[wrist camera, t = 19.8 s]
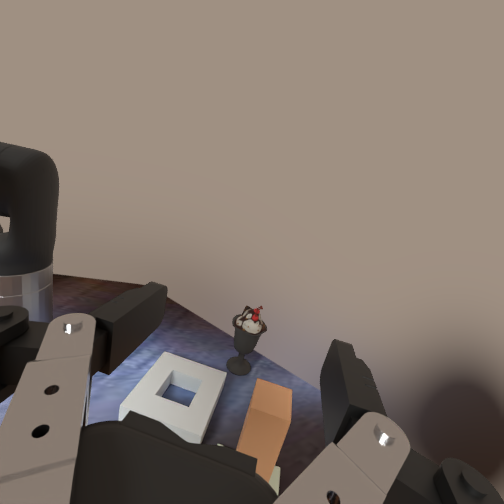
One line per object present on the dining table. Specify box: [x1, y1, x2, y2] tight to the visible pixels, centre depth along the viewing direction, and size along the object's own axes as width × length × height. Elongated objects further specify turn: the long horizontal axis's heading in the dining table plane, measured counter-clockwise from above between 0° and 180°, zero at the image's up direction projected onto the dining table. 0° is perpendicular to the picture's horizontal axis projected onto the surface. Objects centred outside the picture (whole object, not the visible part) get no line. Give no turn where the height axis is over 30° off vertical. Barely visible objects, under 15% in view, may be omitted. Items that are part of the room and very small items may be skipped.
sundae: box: [227, 306, 267, 375], centre depth 49 cm, size 7×7×15 cm
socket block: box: [118, 352, 227, 444], centre depth 41 cm, size 12×12×3 cm
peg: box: [236, 378, 292, 483], centre depth 29 cm, size 4×4×15 cm
